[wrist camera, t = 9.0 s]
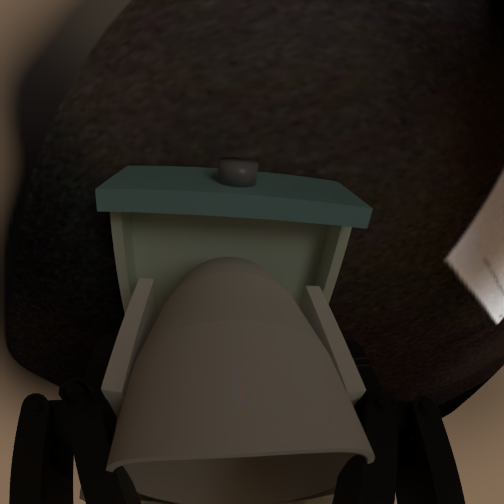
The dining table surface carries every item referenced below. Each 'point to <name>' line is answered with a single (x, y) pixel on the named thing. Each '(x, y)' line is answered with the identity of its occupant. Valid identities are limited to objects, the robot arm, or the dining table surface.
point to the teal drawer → (227, 224)
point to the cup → (234, 397)
